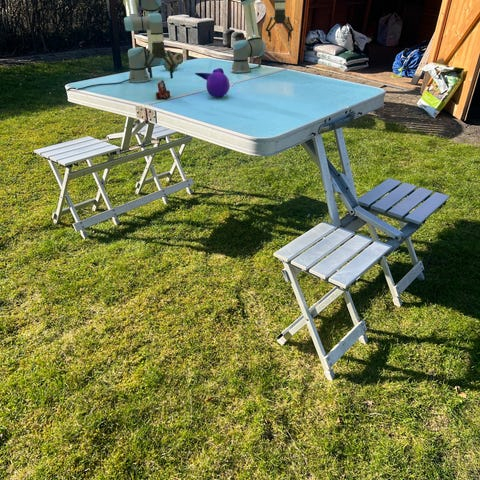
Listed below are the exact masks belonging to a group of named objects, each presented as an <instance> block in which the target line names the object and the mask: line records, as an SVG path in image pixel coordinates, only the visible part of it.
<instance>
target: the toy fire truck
mask: <svg viewBox="0 0 480 480" xmlns="http://www.w3.org/2000/svg"><path fill="white" fill-rule="evenodd" d="M157 89H158V91H156V92H155V98H156V99H158V100H159V99H160V98H161V99H162V98H163V99H164V100H168V99H169V98H170V97H171V91H170V90H167V86H166V83H165V81H164V80H163V79H162V80H161V81H159V82H158V83H157Z"/></svg>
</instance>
